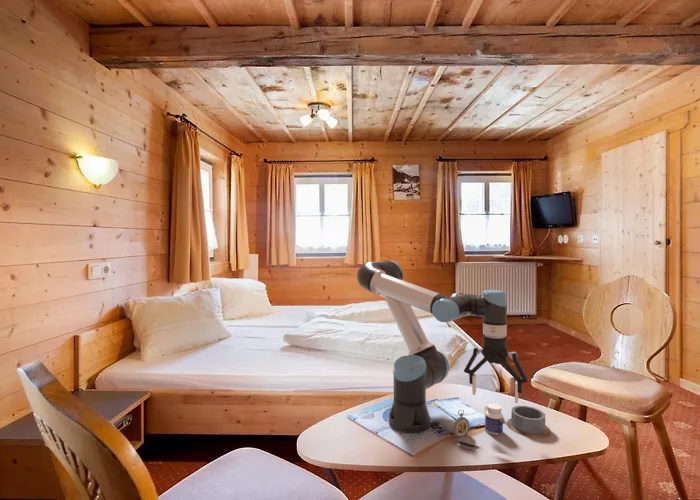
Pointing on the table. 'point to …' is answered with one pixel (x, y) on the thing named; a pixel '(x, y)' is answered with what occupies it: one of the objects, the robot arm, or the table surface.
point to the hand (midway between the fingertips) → (494, 397)
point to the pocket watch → (462, 430)
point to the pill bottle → (494, 420)
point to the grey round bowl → (528, 420)
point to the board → (545, 434)
